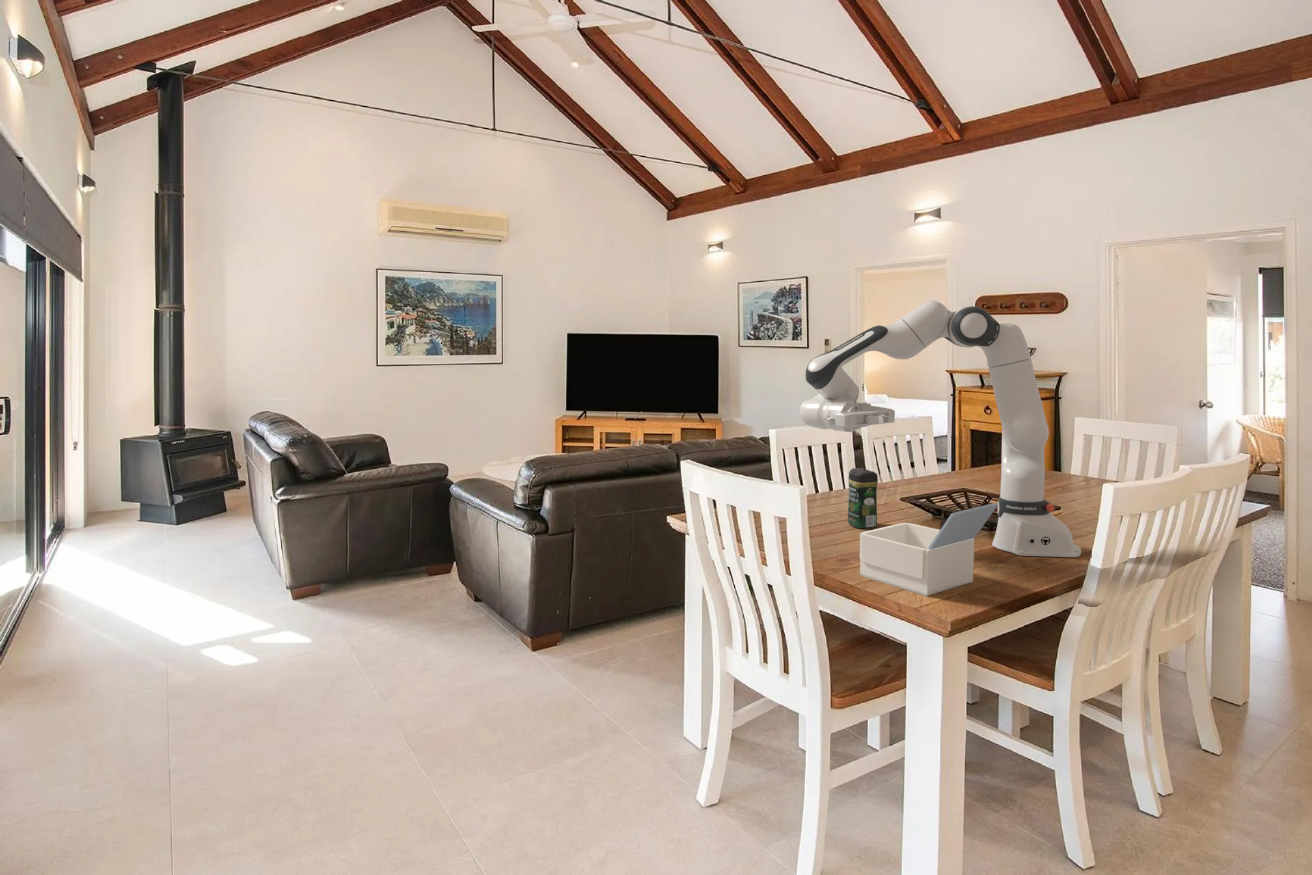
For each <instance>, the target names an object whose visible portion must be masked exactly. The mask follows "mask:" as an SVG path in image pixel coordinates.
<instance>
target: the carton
mask: <svg viewBox="0 0 1312 875" xmlns="http://www.w3.org/2000/svg"><path fill="white" fill-rule="evenodd" d="M939 531H940V529H937V528H935V527H929V526H925V525H920V524H916V523H911V522H910V523H909V522H908V523H907V522H900V523H896V524H892V525H889V526H883V527H880V528H873V529H871V530H866V531H862V532H859V560H860V562H859V576H860V577H863V578H867V579H868V580H869V579H870V580H873V581H876V582H879V583H883V584H886V585H889V586H892V587H895V588H898V589H902V590H905V591H909V592H911V593H915V594H918V595H921V596H923V597H930V596H932V594H933V595H936V593H937V594H939V593H938V592H940V593H943V592H946V591H948V590H951V589H955V588H958V587H961V586H963V585H964V586H965V585H967V584H972V583H973V582H974V564H975V562H974V560H975V538H972V539H969V540H965V541H961V542H958V543H954V544H950V545H946V546H943V547H939V548H935V549H932V550H930V549H929V546H930V545H931V543H932V542H933V540H934V539H935V537H936V536H937V534H938V533H939ZM945 590H946V591H945ZM942 591H943V592H942ZM929 595H930V596H929Z"/></svg>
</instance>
